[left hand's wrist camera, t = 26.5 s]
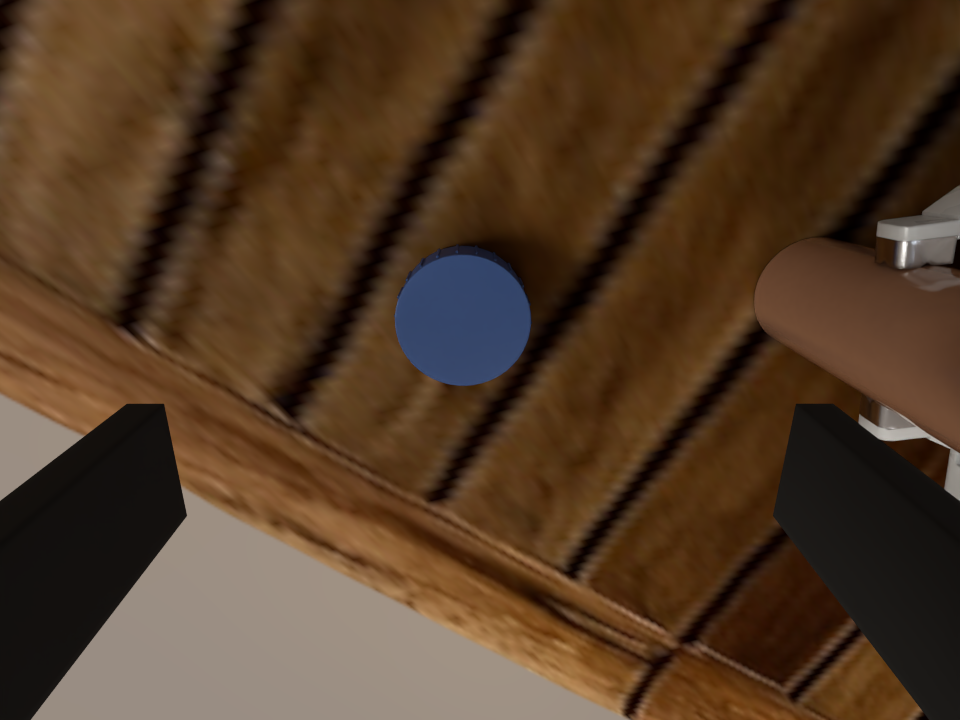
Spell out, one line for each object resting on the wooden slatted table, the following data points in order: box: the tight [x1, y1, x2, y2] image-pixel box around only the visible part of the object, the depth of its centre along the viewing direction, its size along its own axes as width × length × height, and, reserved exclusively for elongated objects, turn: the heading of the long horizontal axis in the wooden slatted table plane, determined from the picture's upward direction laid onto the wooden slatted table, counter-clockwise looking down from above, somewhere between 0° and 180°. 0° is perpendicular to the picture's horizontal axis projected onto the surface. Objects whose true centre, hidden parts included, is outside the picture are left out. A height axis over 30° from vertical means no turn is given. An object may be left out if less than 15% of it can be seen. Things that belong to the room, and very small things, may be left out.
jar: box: [754, 237, 960, 453], centre depth 20 cm, size 5×5×17 cm
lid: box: [394, 245, 532, 386], centre depth 27 cm, size 6×6×2 cm
